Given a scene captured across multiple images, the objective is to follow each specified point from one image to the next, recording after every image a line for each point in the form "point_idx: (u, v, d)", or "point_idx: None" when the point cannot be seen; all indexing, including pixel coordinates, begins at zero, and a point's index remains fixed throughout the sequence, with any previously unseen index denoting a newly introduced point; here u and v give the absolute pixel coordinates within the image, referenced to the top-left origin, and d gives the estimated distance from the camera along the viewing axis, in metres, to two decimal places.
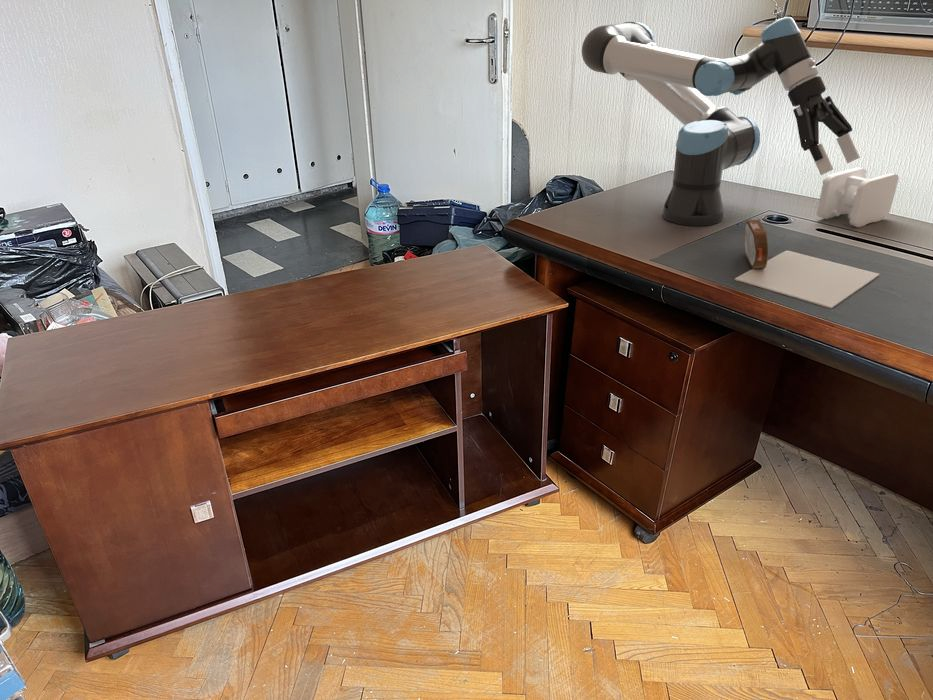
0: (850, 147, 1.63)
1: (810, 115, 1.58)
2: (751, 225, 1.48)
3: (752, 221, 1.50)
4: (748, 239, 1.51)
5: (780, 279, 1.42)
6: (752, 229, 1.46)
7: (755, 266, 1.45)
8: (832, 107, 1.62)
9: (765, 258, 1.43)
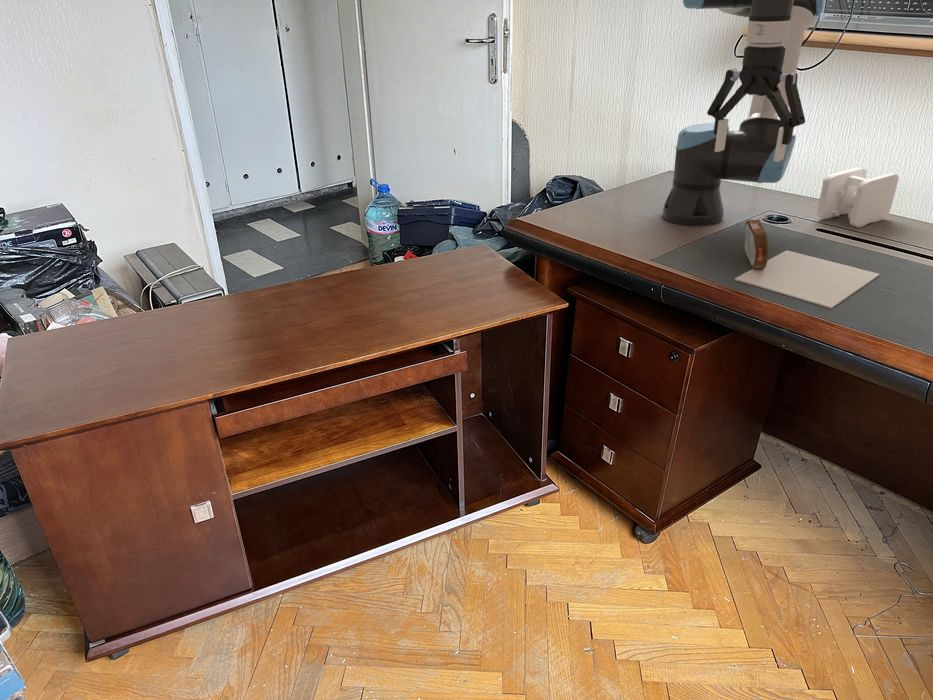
0: None
1: None
2: (751, 225, 1.48)
3: (752, 221, 1.50)
4: (748, 239, 1.51)
5: (780, 279, 1.42)
6: (752, 229, 1.46)
7: (755, 266, 1.45)
8: None
9: (765, 258, 1.43)
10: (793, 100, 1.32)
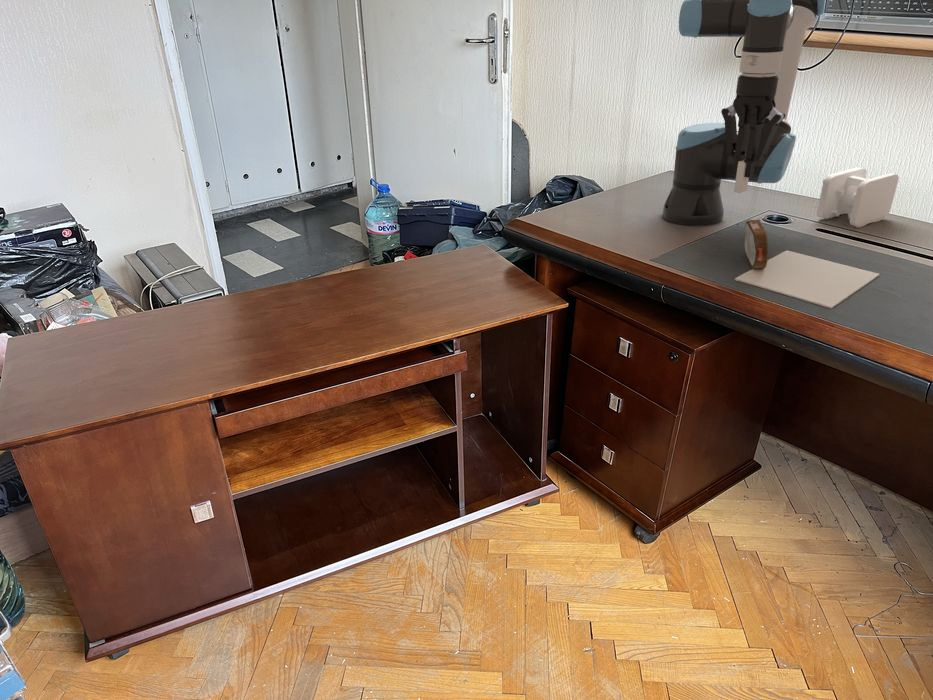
0: None
1: None
2: (751, 225, 1.48)
3: (752, 221, 1.50)
4: (748, 239, 1.51)
5: (780, 279, 1.42)
6: (752, 229, 1.46)
7: (755, 266, 1.45)
8: (767, 125, 1.37)
9: (765, 258, 1.43)
10: (767, 138, 1.38)
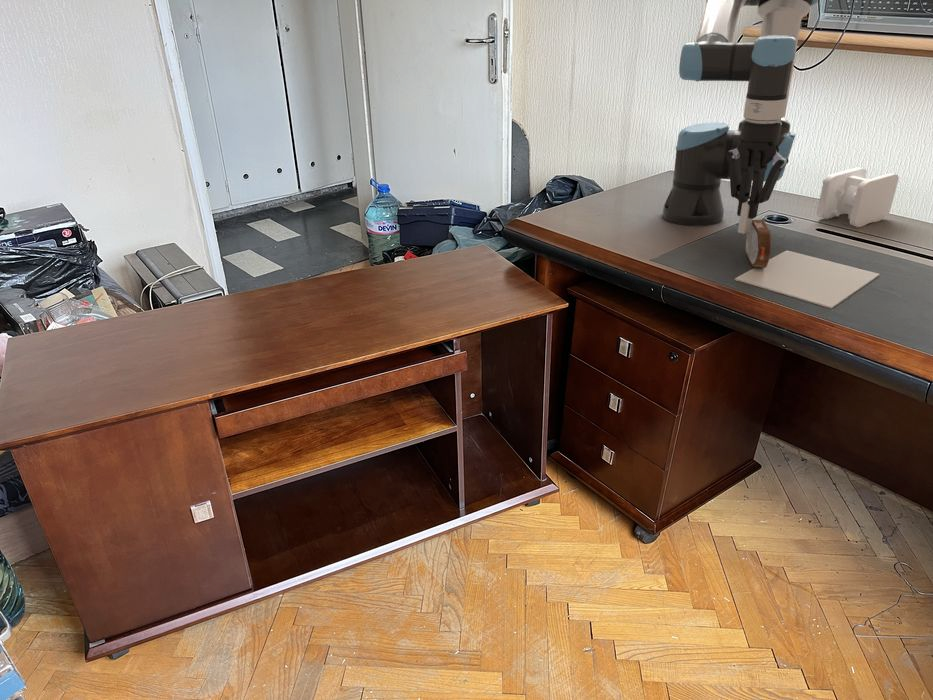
0: None
1: None
2: (755, 224, 1.48)
3: (756, 220, 1.50)
4: (750, 238, 1.51)
5: (780, 279, 1.42)
6: (756, 228, 1.46)
7: (756, 265, 1.45)
8: (771, 169, 1.39)
9: (767, 257, 1.43)
10: (770, 182, 1.40)
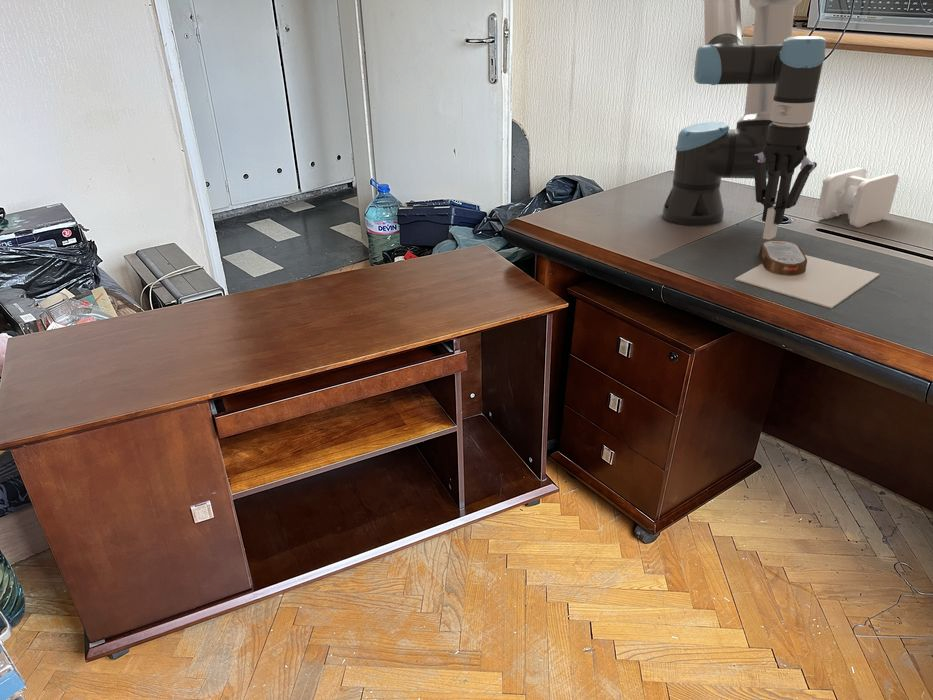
0: None
1: None
2: None
3: None
4: (782, 247, 1.51)
5: (780, 279, 1.42)
6: (804, 255, 1.46)
7: (774, 263, 1.44)
8: (798, 174, 1.35)
9: (785, 273, 1.43)
10: (798, 187, 1.36)
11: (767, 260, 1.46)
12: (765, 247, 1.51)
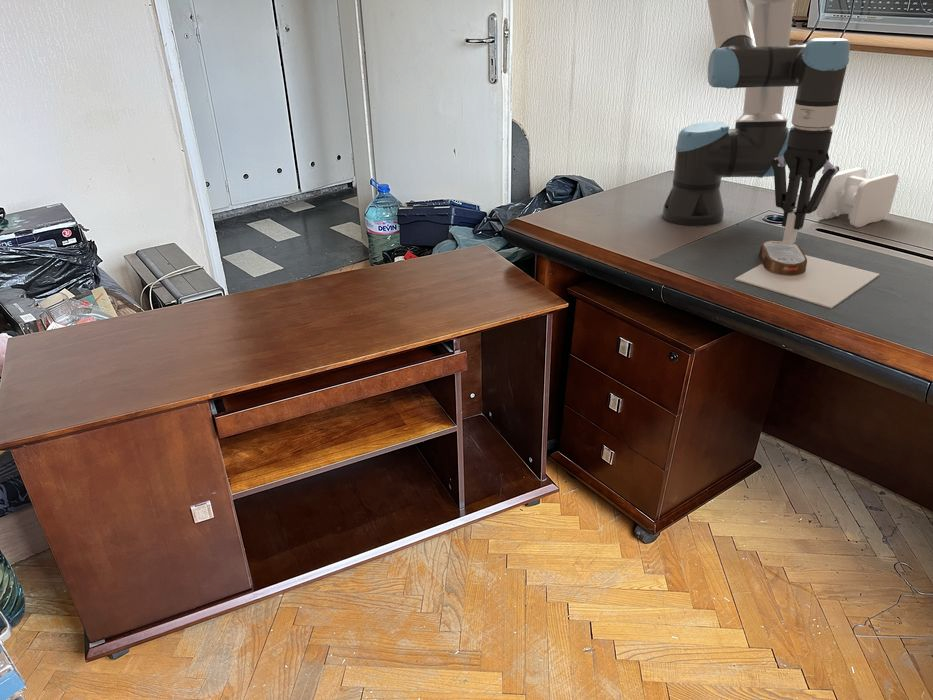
0: None
1: None
2: None
3: None
4: (782, 247, 1.51)
5: (780, 279, 1.42)
6: (804, 255, 1.46)
7: (774, 263, 1.44)
8: (820, 178, 1.33)
9: (785, 273, 1.43)
10: (819, 192, 1.34)
11: (767, 260, 1.46)
12: (765, 247, 1.51)
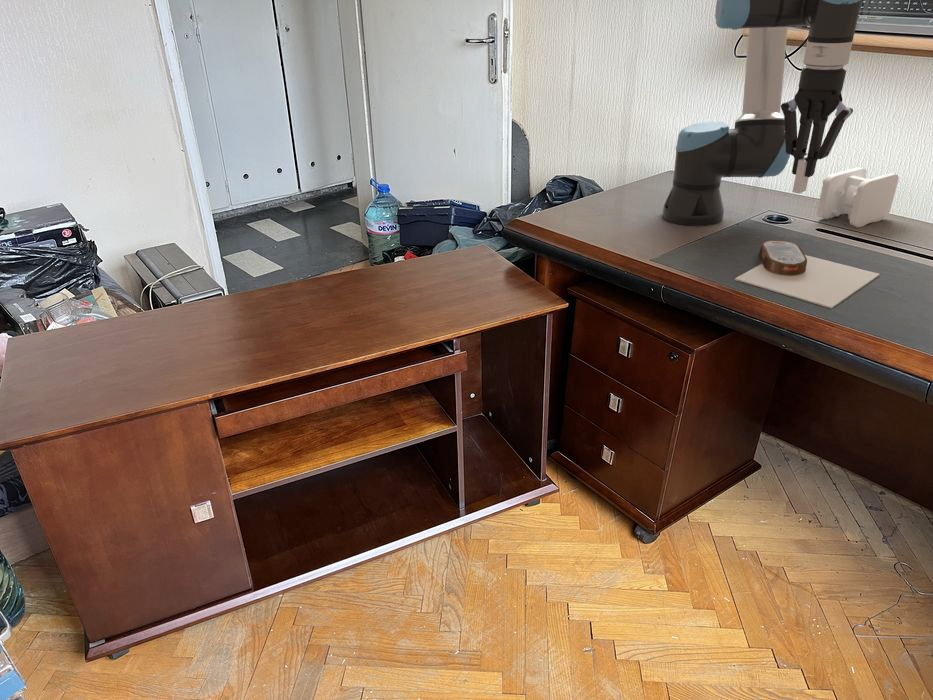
0: None
1: None
2: None
3: None
4: (782, 247, 1.51)
5: (780, 279, 1.42)
6: (804, 255, 1.46)
7: (774, 263, 1.44)
8: (833, 121, 1.28)
9: (785, 273, 1.43)
10: (832, 135, 1.28)
11: (767, 260, 1.46)
12: (765, 247, 1.51)
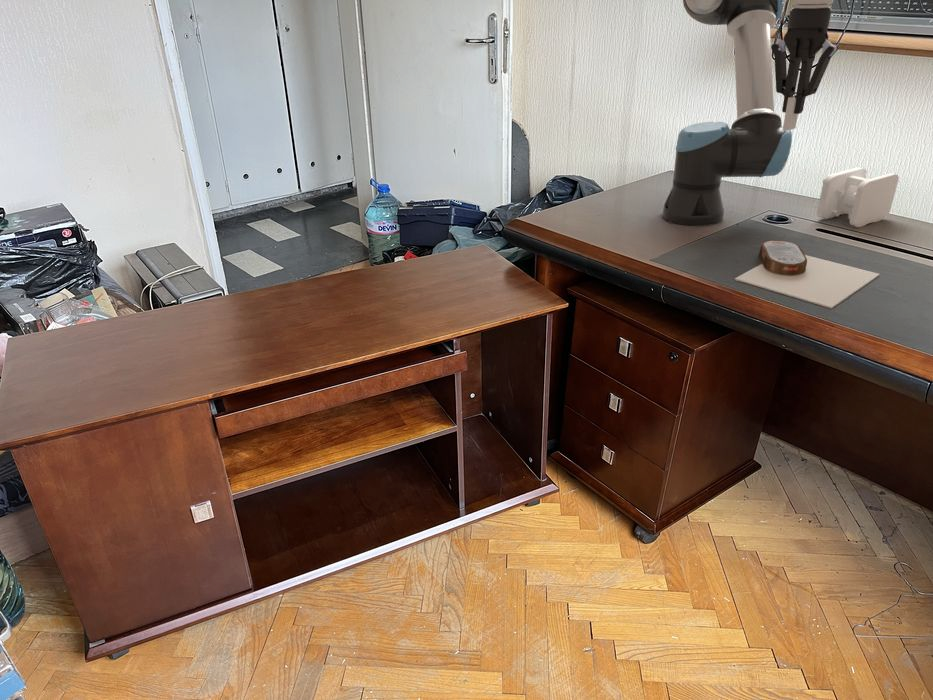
0: None
1: None
2: None
3: None
4: (782, 247, 1.51)
5: (780, 279, 1.42)
6: (804, 255, 1.46)
7: (774, 263, 1.44)
8: (820, 58, 1.36)
9: (785, 273, 1.43)
10: (819, 72, 1.37)
11: (767, 260, 1.46)
12: (765, 247, 1.51)
